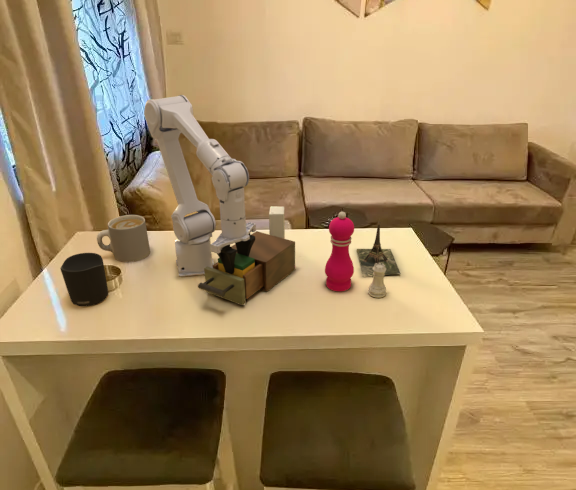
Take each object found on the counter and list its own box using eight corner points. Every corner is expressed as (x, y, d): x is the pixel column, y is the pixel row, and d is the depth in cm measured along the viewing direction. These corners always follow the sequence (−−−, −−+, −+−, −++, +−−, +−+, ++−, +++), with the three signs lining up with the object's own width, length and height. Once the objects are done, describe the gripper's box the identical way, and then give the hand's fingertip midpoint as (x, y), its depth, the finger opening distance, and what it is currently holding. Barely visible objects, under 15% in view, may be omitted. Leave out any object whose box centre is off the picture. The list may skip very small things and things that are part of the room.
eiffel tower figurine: (401, 276, 126) (407, 229, 119) (362, 276, 126) (366, 230, 119) (390, 250, 139) (395, 207, 133) (355, 250, 139) (358, 207, 132)
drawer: (230, 315, 110) (228, 290, 106) (193, 301, 115) (190, 276, 112) (272, 282, 122) (271, 259, 119) (237, 271, 127) (235, 248, 124)
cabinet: (266, 292, 120) (265, 262, 116) (227, 278, 126) (225, 249, 121) (295, 269, 130) (295, 241, 125) (257, 258, 135) (256, 231, 131)
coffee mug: (152, 245, 143) (146, 213, 138) (148, 260, 134) (142, 228, 130) (105, 248, 141) (98, 216, 137) (98, 264, 133) (91, 231, 128)
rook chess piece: (387, 290, 120) (390, 262, 116) (384, 299, 116) (387, 271, 112) (369, 287, 121) (372, 259, 117) (366, 296, 118) (368, 268, 114)
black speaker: (61, 300, 117) (51, 264, 112) (94, 284, 124) (86, 249, 119) (85, 312, 112) (75, 275, 107) (118, 294, 119) (110, 259, 114)
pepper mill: (356, 281, 124) (361, 209, 114) (347, 295, 118) (352, 220, 108) (330, 275, 127) (333, 204, 117) (320, 288, 121) (322, 214, 111)
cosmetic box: (284, 253, 138) (284, 214, 132) (269, 253, 138) (268, 214, 132) (285, 243, 143) (284, 205, 137) (270, 243, 143) (269, 205, 138)
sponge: (243, 281, 114) (242, 266, 112) (218, 273, 117) (217, 258, 115) (255, 272, 117) (254, 258, 115) (231, 265, 121) (230, 250, 119)
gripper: (226, 231, 103) (230, 285, 110) (265, 209, 113) (267, 260, 120) (201, 224, 106) (207, 277, 113) (241, 203, 117) (244, 253, 123)
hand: (236, 267), depth 117 cm, fingers closed on sponge, 5 cm apart
